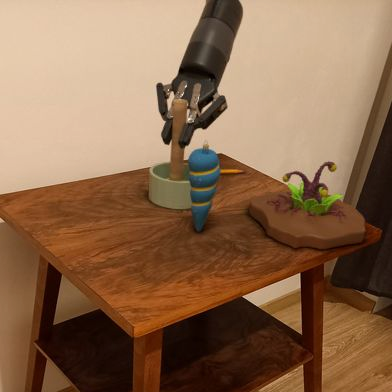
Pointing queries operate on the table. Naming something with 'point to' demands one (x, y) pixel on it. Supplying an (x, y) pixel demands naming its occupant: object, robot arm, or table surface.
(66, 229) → the table surface
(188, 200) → the bowl
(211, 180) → the ornament
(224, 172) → the pencil
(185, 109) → the stick
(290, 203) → the plant
